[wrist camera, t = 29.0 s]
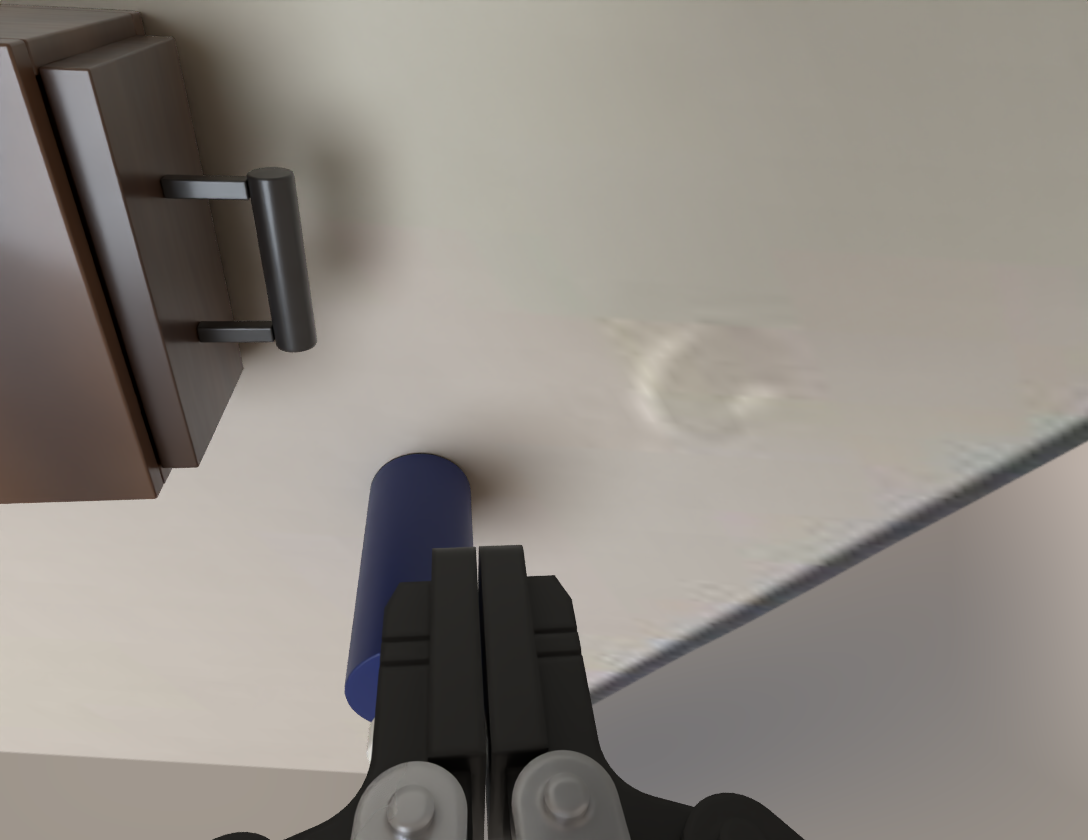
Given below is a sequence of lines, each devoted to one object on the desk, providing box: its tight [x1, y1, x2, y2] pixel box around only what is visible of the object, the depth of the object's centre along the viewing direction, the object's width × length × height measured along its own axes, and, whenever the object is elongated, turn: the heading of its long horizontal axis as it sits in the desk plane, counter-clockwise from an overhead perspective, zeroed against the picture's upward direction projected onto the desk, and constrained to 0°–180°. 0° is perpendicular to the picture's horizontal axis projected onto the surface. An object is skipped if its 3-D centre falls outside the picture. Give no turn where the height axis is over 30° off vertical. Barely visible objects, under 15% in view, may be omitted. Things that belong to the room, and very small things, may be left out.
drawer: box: [35, 35, 317, 468], centre depth 23 cm, size 18×12×7 cm
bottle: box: [345, 454, 473, 763], centre depth 30 cm, size 5×5×14 cm
